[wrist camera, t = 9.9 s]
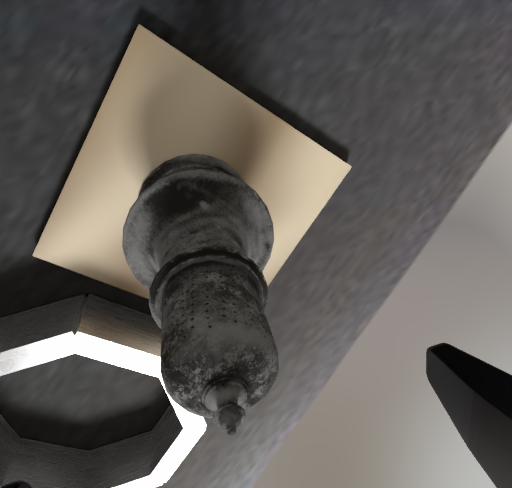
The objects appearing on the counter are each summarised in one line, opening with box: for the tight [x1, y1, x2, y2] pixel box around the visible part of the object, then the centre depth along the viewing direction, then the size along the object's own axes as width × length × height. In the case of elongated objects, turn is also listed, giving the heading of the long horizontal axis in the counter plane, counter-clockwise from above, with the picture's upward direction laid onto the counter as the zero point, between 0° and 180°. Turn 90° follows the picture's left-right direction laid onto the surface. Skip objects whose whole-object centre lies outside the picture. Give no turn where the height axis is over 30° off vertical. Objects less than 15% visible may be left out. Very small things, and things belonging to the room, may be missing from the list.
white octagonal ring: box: [0, 294, 207, 488], centre depth 21 cm, size 12×12×3 cm
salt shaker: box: [122, 154, 279, 435], centre depth 13 cm, size 6×6×12 cm
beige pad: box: [32, 24, 351, 299], centre depth 18 cm, size 11×11×1 cm
